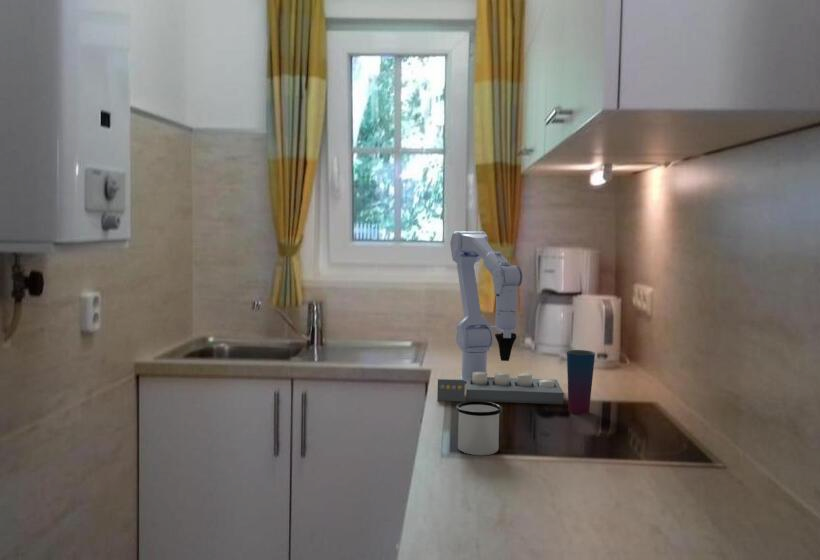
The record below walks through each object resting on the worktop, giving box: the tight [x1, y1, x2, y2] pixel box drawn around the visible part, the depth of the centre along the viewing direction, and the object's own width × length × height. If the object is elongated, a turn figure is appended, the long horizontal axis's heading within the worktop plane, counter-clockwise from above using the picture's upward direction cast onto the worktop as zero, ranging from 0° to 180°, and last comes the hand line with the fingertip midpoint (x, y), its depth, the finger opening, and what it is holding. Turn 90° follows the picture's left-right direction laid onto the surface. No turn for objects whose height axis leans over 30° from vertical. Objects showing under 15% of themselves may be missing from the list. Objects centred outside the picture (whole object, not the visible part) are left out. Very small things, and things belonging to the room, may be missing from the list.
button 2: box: [494, 372, 511, 386], centre depth 204 cm, size 4×4×3 cm
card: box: [436, 378, 466, 402], centre depth 196 cm, size 1×7×6 cm, turn 86°
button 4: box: [539, 378, 554, 387], centre depth 203 cm, size 4×4×3 cm
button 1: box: [472, 372, 488, 385], centre depth 204 cm, size 4×4×3 cm
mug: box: [455, 401, 503, 457], centre depth 156 cm, size 12×10×9 cm
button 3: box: [516, 372, 533, 387], centre depth 203 cm, size 4×4×3 cm
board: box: [465, 376, 564, 405], centre depth 203 cm, size 16×25×3 cm, turn 85°
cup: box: [566, 349, 596, 415], centre depth 186 cm, size 7×7×15 cm
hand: (504, 360), depth 203 cm, fingers closed
